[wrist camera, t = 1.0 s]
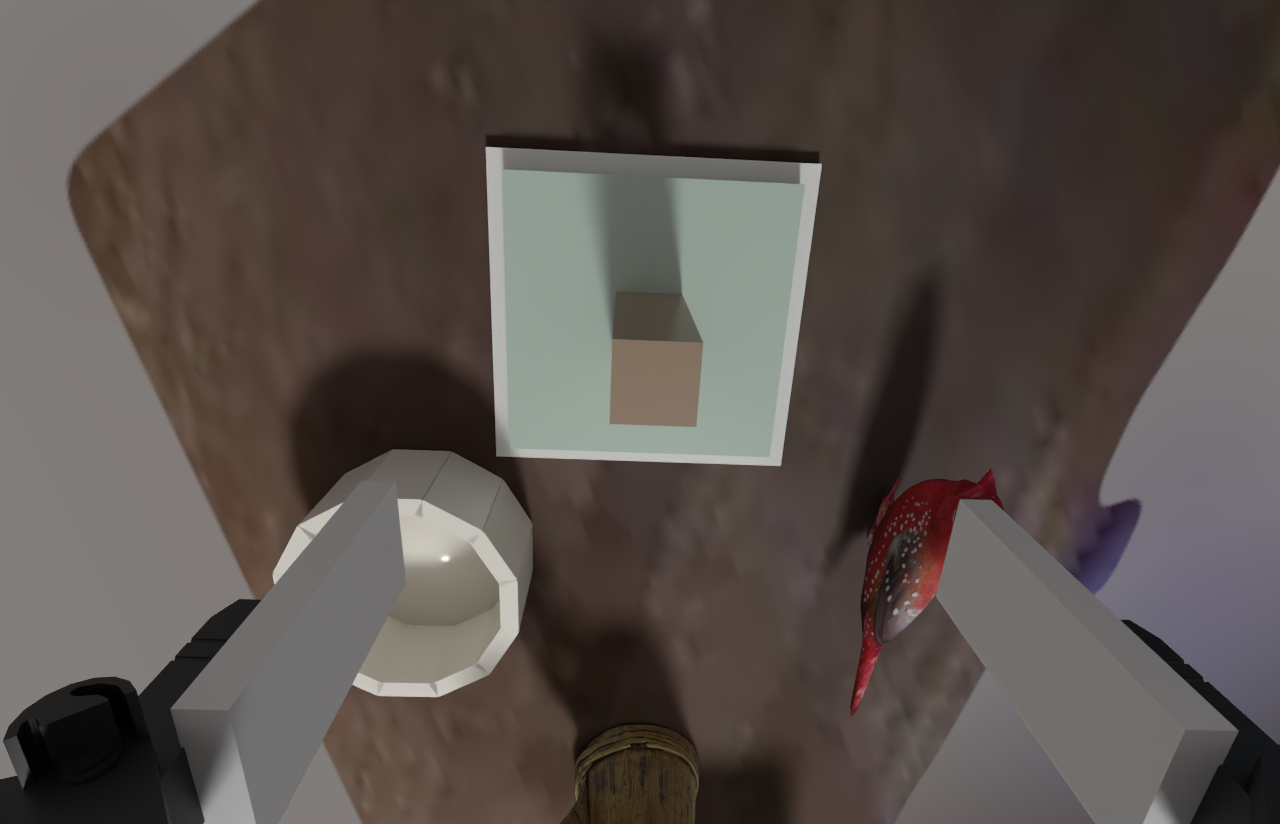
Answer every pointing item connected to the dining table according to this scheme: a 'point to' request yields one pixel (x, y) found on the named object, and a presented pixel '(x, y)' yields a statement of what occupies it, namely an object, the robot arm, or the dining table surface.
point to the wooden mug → (636, 778)
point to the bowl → (440, 571)
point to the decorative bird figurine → (908, 560)
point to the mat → (656, 168)
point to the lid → (646, 311)
